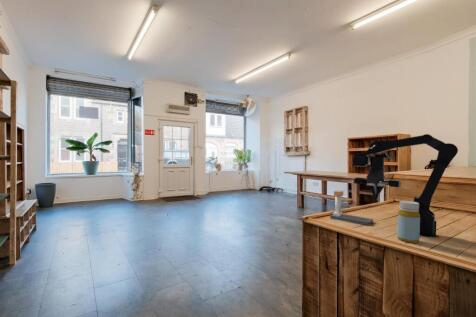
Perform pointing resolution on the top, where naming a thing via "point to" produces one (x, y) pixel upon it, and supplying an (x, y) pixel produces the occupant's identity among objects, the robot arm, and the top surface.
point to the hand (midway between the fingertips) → (375, 200)
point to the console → (353, 219)
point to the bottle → (408, 222)
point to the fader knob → (338, 203)
